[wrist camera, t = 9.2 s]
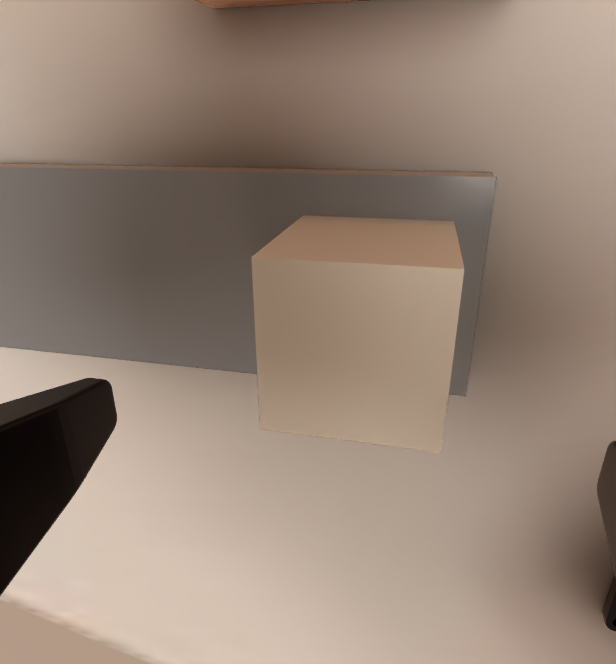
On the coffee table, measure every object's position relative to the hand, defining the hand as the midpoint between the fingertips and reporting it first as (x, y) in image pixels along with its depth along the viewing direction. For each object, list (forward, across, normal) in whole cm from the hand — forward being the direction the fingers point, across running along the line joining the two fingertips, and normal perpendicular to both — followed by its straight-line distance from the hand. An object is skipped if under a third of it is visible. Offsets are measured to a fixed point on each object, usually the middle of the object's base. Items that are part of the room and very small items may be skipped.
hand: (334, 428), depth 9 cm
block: (+8, 0, 0) cm, 8 cm away
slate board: (+9, +7, 0) cm, 11 cm away
